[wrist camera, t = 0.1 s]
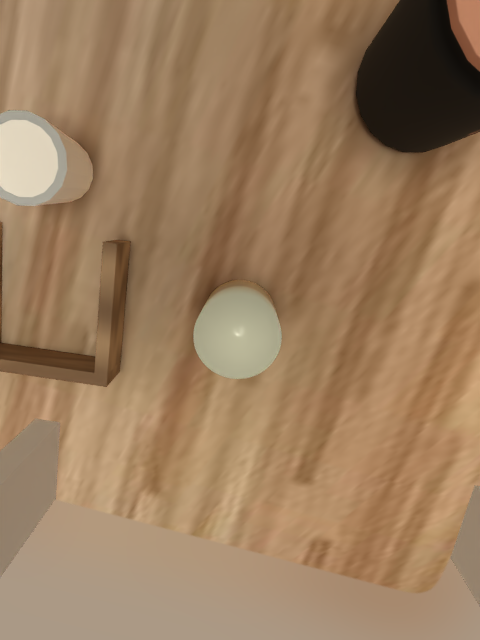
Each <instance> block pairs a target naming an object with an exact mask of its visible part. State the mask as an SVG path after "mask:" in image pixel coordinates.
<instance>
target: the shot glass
mask: <svg viewBox="0 0 480 640" xmlns="http://www.w3.org/2000/svg"><path fill="white" fill-rule="evenodd" d="M92 180H93V165H92V163H91V160H90V158H89V156H88V153H87V152H86V151H85V150H84V149H83V148H82V147H81V146H80V145H79V144H78V143H77V142H76V141H74V140H73V139H71V138H70V137H69V136H67V135H66V134H65V133H63V132H62V131H60V130H59V129H58V128H56V127H55V126H54V125H52V124H51V123H49V122H48V121H47V120H45V119H44V118H42V117H39V116H37V115H35V114H33V113H31V112H29V111H20V110H8V111H6V112H4V113H1V114H0V197H1V198H2V199H5V200H7V201H9V202H11V203H13V204H16V205H21V206H39V205H48V204H57V203H66V202H72V201H74V200H77V199H79V198H81V197H82V196H83V195H84V194H85V193H86V192H87V191H88V190H89V188H90V185H91V182H92Z"/></svg>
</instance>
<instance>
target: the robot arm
mask: <svg viewBox="0 0 480 640" xmlns="http://www.w3.org/2000/svg"><path fill="white" fill-rule="evenodd" d="M59 432H60V422H54V421H48V420H41V419H35V420H34V421H32V422H31V423H30V424H29V425H28V426H27V427H26V428H25V429H24V430H23V431H22V432H20V433H19V434H18V435H17V436H16V437H15V438H14V439H13V440H12V441H11V442H10V443H8V444H7V445H6V446H5V447H4V448H3V449H2V450H1V451H0V577H1V576H2V574H3V573H4V572H5V570H6V569H7V567H8V566H9V564H10V563H11V561H12V560H13V559H14V557H15V556H16V555H17V553H18V552H19V550H20V549H21V547H22V546H23V544H24V543H25V542H26V540H27V539H28V537H29V536H30V535H31V533H32V532H33V530H34V529H35V528H36V526H37V525H38V523H39V522H40V520H41V519H42V518H43V516H44V515H45V513H46V512H47V510H48V509H49V508H50V506H51V505H52V503H53V502H54V500H55V499H56V486H57V468H58V450H59ZM451 559H452V561H453V563H454V564H455V566H456V568H457V569H458V571H459V573H460V574H461V576H462V577H463V579H464V581H465V583H466V584H467V586H468V588H469V589H470V591H471V593H472V594H473V596H474V598H475V599H476V601H477V603H478V604H479V606H480V486H474V489H473V492H472V495H471V498H470V501H469V504H468V507H467V510H466V513H465V516H464V519H463V522H462V525H461V528H460V531H459V534H458V537H457V540H456V543H455V546H454V549H453V552H452V555H451Z"/></svg>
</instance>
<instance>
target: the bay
mask: <svg viewBox="0 0 480 640" xmlns="http://www.w3.org/2000/svg"><path fill="white" fill-rule="evenodd" d="M129 253H130V242H129V241H122V240H113V241H106V242H103V251H102V266H101V281H100V296H99V311H98V326H97V341H96V356H95V357H93V356H87V355H80V354H73V353H66V352H59V351H52V350H46V349H39V348H32V347H25V346H18V345H11V344H5V343H1V308H2V222H0V371H1V372H8V373H15V374H22V375H29V376H36V377H43V378H49V379H56V380H63V381H70V382H77V383H84V384H91V385H97V386H104V387H107V386H108V384H109V383H110V382H111V381H112V380H113V379H114V378H115V376H116V375H117V374H118V373H119V372H120V362H121V350H122V338H123V326H124V314H125V301H126V289H127V277H128V265H129Z"/></svg>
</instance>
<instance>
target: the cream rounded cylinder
mask: <svg viewBox="0 0 480 640" xmlns="http://www.w3.org/2000/svg"><path fill="white" fill-rule="evenodd" d="M193 338H194V345H195V349H196V352H197V354H198V356H199V358H200V359H201V361H202V362H203V363H204V364H205V365H206V366H207V367H208V368H209V369H210V370H211V371H213V372H215V373H216V374H218V375H220V376H223V377H226V378H231V379H244V378H249V377H253V376H255V375H258V374H259V373H261V372H263V371H264V370H266V369H267V368H268V367H269V366H270V365H271V364H272V363H273V361H274V360H275V358H276V357H277V355H278V353H279V350H280V346H281V340H282V333H281V327H280V324H279V320H278V317H277V313H276V310H275V306H274V303H273V301H272V299H271V297H270V295H269V294H268V293H267V292H266V290H264V289H263V288H262V287H261V286H259V285H258V284H256V283H254V282H251V281H247V280H233V281H229V282H226V283H224V284H222V285H220V286H219V287H217V288H216V289H215V290H214V291H213V292H212V293H211V295H210V296H209V298H208V300H207V302H206V304H205V305H204V307H203V309H202V311H201V313H200V315H199V317H198V319H197V321H196V324H195V327H194V335H193Z"/></svg>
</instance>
